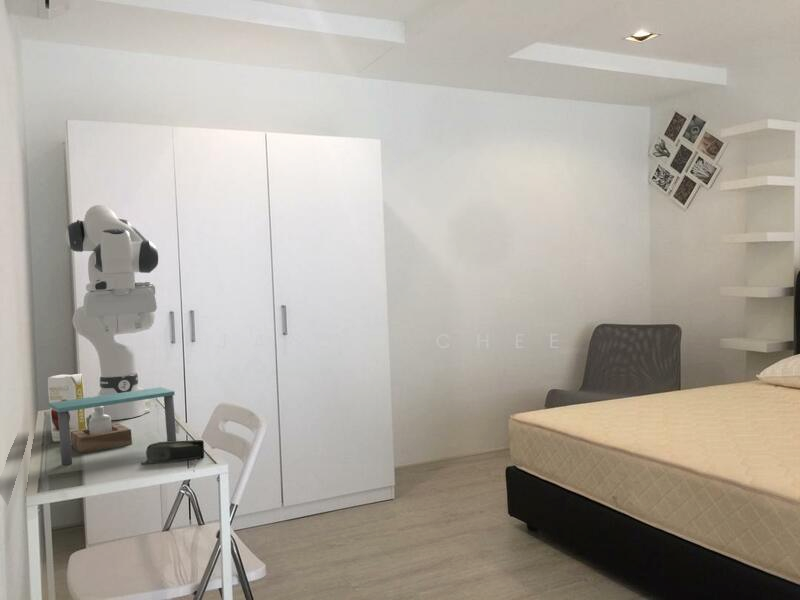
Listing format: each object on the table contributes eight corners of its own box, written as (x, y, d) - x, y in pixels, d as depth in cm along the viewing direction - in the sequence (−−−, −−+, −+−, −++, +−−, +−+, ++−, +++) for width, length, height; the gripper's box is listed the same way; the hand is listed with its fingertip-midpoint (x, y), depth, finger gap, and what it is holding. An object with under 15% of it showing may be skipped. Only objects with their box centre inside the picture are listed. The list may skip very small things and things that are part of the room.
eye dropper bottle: (111, 445, 193) (108, 402, 192) (89, 447, 191) (86, 404, 191) (113, 441, 197) (110, 399, 196) (92, 444, 195) (89, 402, 195)
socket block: (71, 445, 195) (70, 431, 195) (119, 436, 203) (118, 423, 203) (81, 453, 185) (80, 438, 185) (132, 443, 193) (131, 429, 192)
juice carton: (65, 436, 208) (60, 373, 208) (91, 435, 207) (86, 372, 206) (48, 442, 201) (43, 377, 200) (75, 442, 199) (70, 376, 199)
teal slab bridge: (53, 457, 182) (49, 403, 181) (164, 437, 199) (160, 387, 198) (62, 466, 172) (58, 408, 171) (178, 443, 189) (174, 391, 189)
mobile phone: (203, 438, 174) (141, 442, 171) (202, 440, 171) (139, 445, 168) (204, 457, 174) (142, 462, 171) (203, 460, 171) (139, 465, 168)
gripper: (151, 281, 213) (154, 326, 214) (80, 285, 201) (83, 332, 202) (157, 281, 208) (161, 327, 209) (85, 285, 196) (88, 333, 197)
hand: (122, 330), depth 205 cm, fingers open, 8 cm apart
